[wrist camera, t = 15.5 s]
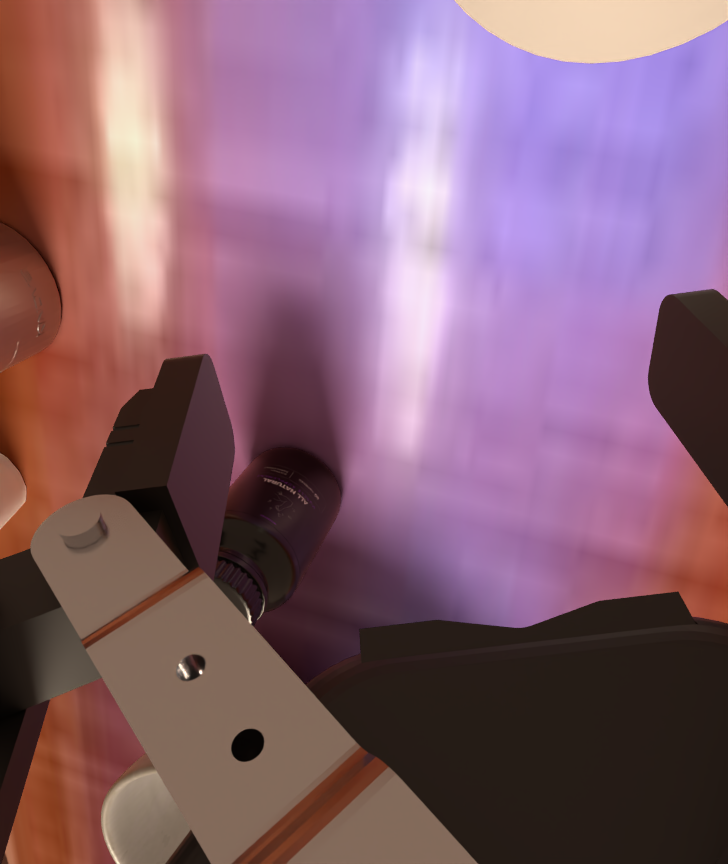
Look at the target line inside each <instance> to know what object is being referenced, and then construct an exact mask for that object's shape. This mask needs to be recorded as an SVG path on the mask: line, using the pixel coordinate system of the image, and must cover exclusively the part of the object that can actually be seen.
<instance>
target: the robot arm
mask: <svg viewBox="0 0 728 864" xmlns="http://www.w3.org/2000/svg"><path fill="white" fill-rule="evenodd" d="M60 323H61V304H60V296H59V293H58V289H57V286H56V283H55V280H54V278H53V276H52V274H51V272H50V270H49V268H48V266H47V264H46V263H45V262H44V260H43V259H42V257H41V256H40V254H39V253H38V252H37V250H36V249H35V248H34V247H33V246H32V245H31V244H30V243H29V242H28V241H27V240H26V239H25V238H24V237H22V236H21V235H20V234H19V233H17V232H16V231H15V230H14V229H12V228H10V227H8V226H6V225H5V224H3V223H1V222H0V372H2V371H4V370H6V369H8V368H10V367H12V366H14V365H15V364H17V363H19V362H21V361H23V360H25V359H27V358H29V357H31V356H33V355H35V354H36V353H38V352H40V351H42V350H44V349H45V348H46V347H47V346H49V345H50V344H51V343H52V341H53V340H54V338H55V337H56V335H57V333H58V329H59V326H60ZM648 385H649V391H650V395H651V398H652V401H653V403H654V405H655V407H656V408H657V410H658V411H659V412H660V414H661V415H662V416H663V418H664V419H665V421H666V422H667V423H668V425H669V426H670V428H671V429H672V430H673V432H674V433H675V434H676V436H677V437H678V439H679V440H680V441H681V443H682V444H683V446H684V447H685V448H686V450H687V451H688V452H689V454H690V455H691V457H692V458H693V459H694V461H695V462H696V464H697V465H698V466H699V468H700V469H701V470H702V472H703V473H704V475H705V476H706V477H707V479H708V480H709V482H710V483H711V484H712V486H713V487H714V488H715V490H716V491H717V493H718V494H719V495H720V497H721V498H722V500H723V501H724V502H725V504H726V505H727V506H728V300H727V299H726V298H725V297H724V296H722V295H721V294H720V293H719V292H718V291H716V290H714V289H709V290H701V291H694V292H686V293H678V294H671V295H667V296H666V297H665V298H664V299H663V301H662V303H661V306H660V309H659V314H658V320H657V326H656V332H655V337H654V343H653V349H652V355H651V360H650V366H649V373H648ZM106 445H107V447H104V449H103V452H102V454H101V456H100V459H99V461H98V463H97V466H96V468H95V470H94V473H93V475H92V477H91V480H90V482H89V484H88V487H87V489H86V491H85V494H84V496H83V498H82V499H79V500H76V501H74V502H72V503H69V504H67V505H65V506H64V507H62V508H60V509H59V510H57V511H56V512H54V513H53V514H52V515H50V516H49V517H48V518H47V519H46V520H45V521H44V522H43V523H42V524H41V525H40V526H39V528H38V529H37V531H36V532H35V534H34V536H33V538H32V541H31V546H30V547H31V548H30V549H28V550H25V551H23V552H20V553H17V554H14V555H12V556H9V557H6V558H3V559H0V864H1V863H2V860H3V856H4V853H5V850H6V846H7V843H8V840H9V836H10V833H11V830H12V826H13V823H14V819H15V816H16V813H17V809H18V806H19V803H20V799H21V796H22V792H23V789H24V786H25V782H26V779H27V775H28V772H29V769H30V765H31V762H32V759H33V755H34V752H35V748H36V745H37V742H38V738H39V735H40V732H41V728H42V725H43V721H44V718H45V715H46V711H47V708H48V704H49V701H50V699H51V698H54V697H56V696H58V695H61V694H63V693H66V692H68V691H71V690H73V689H76V688H78V687H80V686H83V685H85V684H88V683H90V682H93V681H95V680H97V679H100V678H103V680H104V682H105V684H106V685H107V687H108V689H109V690H110V692H111V694H112V696H113V697H114V699H115V701H116V702H117V704H118V706H119V707H120V709H121V711H122V713H123V714H124V716H125V718H126V719H127V721H128V723H129V725H130V726H131V728H132V730H133V731H134V733H135V735H136V737H137V738H138V740H139V742H140V743H141V745H142V747H143V748H144V750H145V752H146V754H147V755H148V757H149V759H150V760H151V762H152V764H153V766H154V767H155V769H156V771H157V772H158V774H159V776H160V777H161V779H162V781H163V783H164V784H165V786H166V788H167V789H168V791H169V793H170V795H171V796H172V798H173V800H174V801H175V803H176V805H177V807H178V808H179V810H180V812H181V813H182V815H183V817H184V818H185V820H186V822H187V824H188V825H189V827H190V829H191V830H190V831H189V833H188V834H187V835H186V837H185V838H184V839H183V841H182V842H181V843H180V845H179V846H178V847H177V849H176V850H175V851H174V853H173V854H172V855H171V857H170V858H169V859H168V861H167V862H166V863H165V864H728V624H727V623H723V622H719V621H714V620H709V619H704V618H699V617H692V616H691V614H690V612H689V610H688V609H687V607H686V605H685V603H684V601H683V599H682V598H681V596H680V594H679V592H671V593H663V594H654V595H646V596H637V597H629V598H620V599H612V600H603V601H598V602H595V603H592V604H589V605H587V606H584V607H581V608H579V609H576V610H573V611H570V612H568V613H565V614H562V615H559V616H557V617H554V618H551V619H549V620H546V621H543V622H540V623H538V624H535V625H532V626H529V627H525V628H510V627H500V626H491V625H481V624H471V623H461V622H452V621H442V620H432V621H424V622H415V623H407V624H398V625H390V626H381V627H373V628H364V629H359V632H360V650H361V654H358V655H355V656H353V657H350V658H347V659H345V660H343V661H341V662H339V663H337V664H335V665H333V666H331V667H330V668H328V669H327V670H325V671H324V672H322V673H320V674H319V675H317V676H316V677H314V678H313V679H312V680H311V681H310V682H308V683H307V684H306V685H305V684H304V683H303V682H302V681H301V680H300V679H299V677H298V676H297V675H296V674H295V673H294V672H293V671H292V670H291V668H290V667H289V666H288V665H287V664H286V663H285V662H284V661H283V659H282V658H281V657H280V656H279V655H278V654H277V653H276V652H275V650H274V649H273V648H272V647H271V646H270V645H269V644H268V643H267V641H266V640H265V639H264V638H263V637H262V636H261V635H260V634H259V632H258V631H257V630H256V629H255V628H254V627H253V626H252V625H251V623H250V622H249V621H248V620H247V619H246V618H245V617H244V616H243V615H242V613H241V612H240V611H239V610H238V609H237V608H236V607H235V606H234V604H233V603H232V602H231V601H230V600H229V599H228V598H227V597H226V595H225V594H224V593H223V592H222V591H221V590H220V589H219V588H218V586H217V585H216V584H215V583H214V582H213V581H214V575H215V569H216V563H217V557H218V551H219V546H220V540H221V534H222V528H223V522H224V516H225V510H226V504H227V498H228V492H229V486H230V480H231V474H232V468H233V462H234V455H235V445H234V435H233V429H232V425H231V421H230V418H229V415H228V411H227V408H226V405H225V401H224V398H223V395H222V391H221V388H220V385H219V381H218V378H217V375H216V371H215V368H214V365H213V362H212V360H211V358H210V356H209V355H208V354H201V355H193V356H185V357H177V358H170V359H165V360H164V362H163V364H162V367H161V369H160V372H159V375H158V377H157V380H156V383H155V385H154V388H151V389H144V390H139V391H138V392H137V393H136V394H135V395H134V396H133V397H132V398H131V399H130V400H129V401H128V402H127V403H126V404H125V405H124V406H123V407H122V408H121V410H120V412H119V414H118V417H117V419H116V421H115V424H114V426H113V431H111V433H110V435H109V438H108V440H107V442H106Z"/></svg>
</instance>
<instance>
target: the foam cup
mask: <svg viewBox="0 0 728 864" xmlns="http://www.w3.org/2000/svg"><path fill="white" fill-rule="evenodd" d="M25 501H26V485H25V483H24V481H23V478H22V476H21V474H20V472H19V471H18V469H17V468H16V467H15V466H14V465H13V464H12V462H11V461H10V460H9V459H8V458H7V457H6V456H4V455H3V454H1V453H0V529H1V528H2V527H3V526H4V525H5V524H6V523H7V521H8V520H9V519H10V518H11V517H12V516H13V515H14V514H15V513H16V512H17V510H18V509H19V508H20V507H21V506H22V505H23V504H24V502H25Z"/></svg>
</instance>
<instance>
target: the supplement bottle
mask: <svg viewBox="0 0 728 864" xmlns="http://www.w3.org/2000/svg"><path fill="white" fill-rule="evenodd" d="M340 503H341V496H340V490H339V486H338V483H337V481H336V479H335V477H334V475H333V474H332V472H331V471H330V470H329V469H328V467H327V466H326V465H325V464H324V463H323V462H321V461H320V460H319V459H318V458H316V457H315V456H313V455H311V454H309V453H307V452H305V451H302V450H299V449H296V448H289V447H279V448H273V449H270V450H267V451H265V452H263V453H262V454H260V455H259V456H258V457H256V458H255V459H254V460H253V461H252V462H251V464H250V465H249V466H248V467H247V468H246V469H245V470H244V471H243V472H242V474H241V475H240V476H239V477H238V478H237V479H236V481H235V482H234V483H233V484H232V485H231V486H230V487H229V492H228V498H227V504H226V510H225V516H224V522H223V528H222V534H221V540H220V546H219V551H218V557H217V563H216V569H215V575H214V581H213V582H214V583H215V584H216V585H217V586H218V588H219V589H220V590H221V591H222V592H223V593H224V594H225V595H226V597H227V598H228V599H229V600H230V601H231V602H232V603H233V604H234V606H235V607H236V608H237V609H238V610H239V611H240V612H241V613H242V615H243V616H244V617H245V618H246V619H247V620H248V621H249V622H250V623H251V625H252V626H254V624H255V623H256V621H257V620H258V619H259V618H260V617H261V616H262V614H263V613H264V612H268V611H272V610H274V609H276V608H278V607H280V606H282V605H283V604H284V603H286V602H287V601H288V600H289V599H290V598H291V596H292V595H293V593H294V592H295V590H296V589H297V587H298V585H299V584H300V582H301V580H302V578H303V576H304V575H305V573H306V571H307V569H308V568H309V566H310V564H311V562H312V560H313V559H314V557H315V555H316V553H317V552H318V550H319V548H320V546H321V545H322V543H323V541H324V539H325V537H326V536H327V534H328V532H329V530H330V529H331V527H332V525H333V523H334V521H335V519H336V517H337V515H338V512H339V509H340Z"/></svg>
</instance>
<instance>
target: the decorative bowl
mask: <svg viewBox="0 0 728 864" xmlns="http://www.w3.org/2000/svg"><path fill="white" fill-rule="evenodd" d="M101 825H102V831H103V835H104V839H105V842H106V845H107V847H108V849H109V852H110V854H111V856H112V857H113V859H114V861H115V863H116V864H165V863H166V862H167V861H168V859H169V858H170V857H171V855H172V854H173V853H174V851H175V850H176V849H177V847H178V846H179V845H180V843H181V842H182V841H183V839H184V838H185V837H186V835H187V834H188V833H189V831H190V830H191V829H190V827H189V825H188V824H187V822H186V820H185V818H184V817H183V815H182V813H181V812H180V810H179V808H178V807H177V805H176V803H175V801H174V800H173V798H172V796H171V795H170V793H169V791H168V789H167V788H166V786H165V784H164V783H163V781H162V779H161V777H160V776H159V774H158V772H157V771H156V769H155V767H154V766H153V764H152V762H151V760H150V759H149V757H148V755H147V754H146V753H145V754H144V755H143V756H142V757H140V758H139V759H138V760H137V761H136V762H135V763H134V764H132V765H131V766H130V767H129V768H128V769H127V770H126V771H125V772H124V773H123V774H122V775H121V776H120V777H119V778H118V780H117V781H116V782H115V783H114V784H113V786H112V787H111V788H110V790H109V791H108V793H107V795H106V797H105V799H104V802H103V806H102V812H101Z"/></svg>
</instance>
